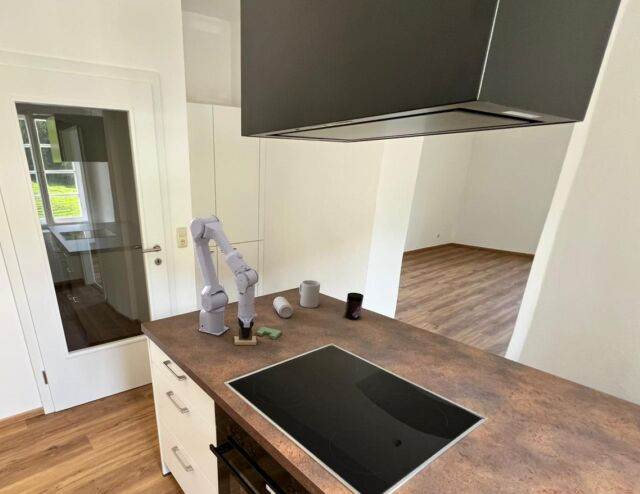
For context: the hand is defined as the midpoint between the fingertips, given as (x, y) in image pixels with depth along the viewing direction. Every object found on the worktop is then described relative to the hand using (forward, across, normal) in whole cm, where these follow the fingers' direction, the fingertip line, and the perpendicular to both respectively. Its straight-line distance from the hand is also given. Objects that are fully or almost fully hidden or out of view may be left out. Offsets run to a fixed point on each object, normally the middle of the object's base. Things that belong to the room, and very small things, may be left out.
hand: (245, 337), depth 134 cm
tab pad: (+2, +1, 0) cm, 2 cm away
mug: (+2, +41, -32) cm, 52 cm away
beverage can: (-1, +22, -19) cm, 29 cm away
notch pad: (+2, +7, -10) cm, 12 cm away
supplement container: (+2, +24, -48) cm, 54 cm away
